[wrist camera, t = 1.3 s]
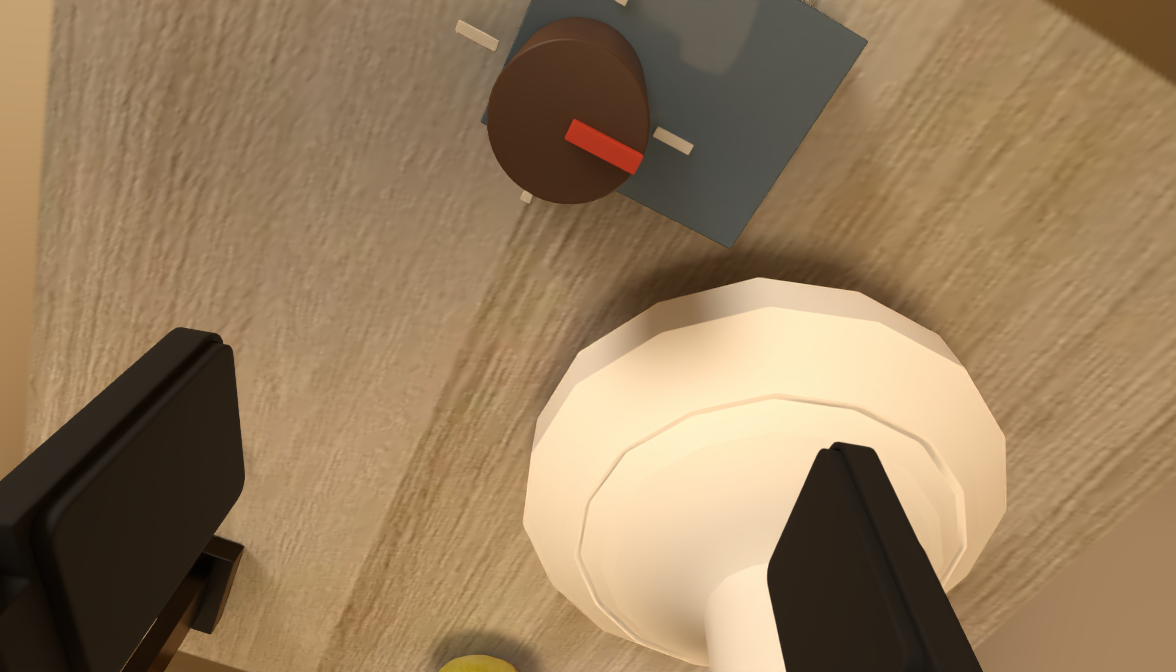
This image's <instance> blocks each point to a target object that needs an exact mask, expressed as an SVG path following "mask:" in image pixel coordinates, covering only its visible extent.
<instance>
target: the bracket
mask: <svg viewBox="0 0 1176 672" xmlns="http://www.w3.org/2000/svg"><path fill="white" fill-rule="evenodd" d="M243 548H244V546H242V545H239V544H236V543H233V542H230V541H227V540H225V539H222V538H219V537H216V536H212V538H211V539H210V541H209V542H208V543H207V545H206V546H205V548H204V549H203V551H202V552H201V554H200V555H199V557H198V558H197V560H196V561H195V562H194V564H193V565H192V567H191V568H190V570H189V571H188V573H187V574H186V576H185V577H184V579H183V580H182V581H181V583H180V584H179V586H178V587H177V589H176V590H175V592H174V593H173V595H172V596H171V598H170V599H169V600H168V602H167V603H166V605H165V606H164V608H163V609H162V611H161V612H160V614H159V615H158V617H157V620H156V621H155V623H154V624H153V626H152V627H151V629H150V630H149V632H148V633H147V635H146V636H145V638H144V639H143V641H142V642H141V644H140V645H139V647H138V648H137V650H136V651H135V652H134V654H133V656H132V657H131V658H130V660H129V661H128V663H127V664H126V666H125V667H124V669H123V670H122V672H164V671H165V669H166V667H167V666H168V664H169V662H170V661H171V659H172V657H173V656H174V654H175V653H176V651H177V650H178V648H179V646H180V645H181V643H182V641H183V640H184V638H185V637H186V635H187V633H188V632H189V630H190V629H195V630H198V631H201V632H204V633H207V634H212V632H213V631H214V629H215V627H216V626H217V624H218V622H219V620H220V619H221V616H222V613H223V610H224V606H225V603H226V600H227V597H228V594H229V591H230V588H231V585H232V582H233V579H234V576H235V573H236V570H237V567H238V563H239V560H240V557H241V554H242V551H243Z"/></svg>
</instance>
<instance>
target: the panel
mask: <svg viewBox="0 0 1176 672" xmlns="http://www.w3.org/2000/svg"><path fill="white" fill-rule="evenodd" d="M571 17H584V18H590V19H594V20H598V21H601V22H603V23H605V24H607V25H609V26H611V27H612V28H614V29H615V30H617V31H618V32H619V33H620V34H622V35H623V36H624V37H625V38H626V39H627V41H628V42H629V43H630V44H631V46H632V47H633V49H634V50H635V52H636V54H637V56H638V58H639V60H640V62H641V65H642V68H643V73H644V78H645V84H646V91H647V98H648V105H649V112H650V134H649V139H648V144H647V147H646V150H645V153H644V156H643V159H642V161H641V163H640V165H639V167H638V168H637V170H636V172H635V174H634V175H631V176H630V178H629V179H628V180H627V181H626V182H625V183H624V184H623V185H622V186H620V187H619V188H618V189H616V190H615V191H617V192H619V193H621V194H623V195H625V196H627V197H629V198H631V199H633V200H635V201H637V202H639V203H641V204H642V205H644V206H646V207H648V208H650V209H652V210H654V211H656V212H658V213H660V214H662V215H664V216H666V217H668V218H670V219H672V220H674V221H676V222H678V223H680V224H682V225H684V226H686V227H688V228H690V229H692V230H694V231H696V232H698V233H699V234H701V235H703V236H705V237H707V238H709V239H711V240H713V241H715V242H717V243H719V244H721V245H723V246H725V247H727V248H729V249H730V248H731V247H732V246H733V244H734V243H735V241H736V240H737V238H738V237H739V235H740V234H741V232H742V231H743V229H744V228H745V226H746V225H747V223H748V222H749V220H750V219H751V217H752V216H753V214H754V213H755V211H756V210H757V208H758V207H759V205H760V204H761V202H762V201H763V199H764V198H765V196H766V195H767V193H768V192H769V190H770V189H771V187H772V186H773V184H774V183H775V181H776V180H777V178H778V177H779V175H780V174H781V172H782V171H783V169H784V168H785V166H786V165H787V163H788V162H789V160H790V159H791V157H792V156H793V154H794V153H795V151H796V150H797V148H798V147H799V145H800V144H801V142H802V141H803V139H804V138H805V136H806V135H807V133H808V132H809V130H810V129H811V127H812V126H813V124H814V123H815V121H816V120H817V118H818V117H819V115H820V114H821V112H822V111H823V109H824V108H825V106H826V105H827V103H828V102H829V100H830V99H831V97H832V96H833V94H834V93H835V91H836V89H837V88H838V86H839V85H840V83H841V82H842V80H843V79H844V77H845V76H846V74H847V73H848V71H849V70H850V68H851V67H852V65H853V64H854V62H855V61H856V59H857V58H858V56H859V55H860V53H861V52H862V50H863V49H864V47H865V46H866V44H867V43H868V41H867V40H866V39H864V38H863V37H861V36H859V35H858V34H856V33H854V32H853V31H851V30H849V29H848V28H846V27H844V26H843V25H841V24H839V23H838V22H836V21H834V20H833V19H831V18H829V17H828V16H826V15H824V14H823V13H821V12H819V11H818V10H816V9H814V8H813V7H811V6H809V5H808V4H806V3H805V2H803V1H801V0H531V2H530V5H529V7H528V9H527V12H526V14H525V16H524V19H523V21H522V24H521V26H520V28H519V31H518V33H517V36H516V38H515V40H514V43H513V45H512V48H511V50H510V52H509V55H508V57H507V59H506V62H505V64H504V67H505V66H506V65H507V64H508V63H509V62H510V61H511V59H512V58H513V57H514V56H515V55H516V54H517V52H518V51H519V50H520V49H521V48H522V47H523V45H524V44H525V43H526V42H527V41H528V40H529V39H530V38H531V36H532V35H533V34H535V33H536V32H537V31H538V30H539V29H541V28H543V27H544V26H546V25H547V24H550V23H552V22H554V21H557V20H560V19H564V18H571ZM455 31H456V32H458V33H459V34H461V35H463V36H465V37H467V38H469V39H471V40H473V41H474V42H476V43H478V44H480V45H482V46H484V47H486V48H488V49H490V50H491V51H493V52H496V50H497V47H498V45H499V42H500V41H499V40H497V39H495V38H493V37H491V36H489V35H487V34H486V33H484V32H482V31H480V30H478V29H476V28H474V27H473V26H471V25H469V24H467V23H465V22H463V21H461V20H459V21H458V23H457V26H456V29H455ZM504 67H503V69H504ZM503 69H502V70H503ZM501 72H502V71H501ZM488 103H489V102H488ZM487 108H488V105H487V107H486V110H485V112H484V114H483V117H482V119H481V122H482V123H483V124H485V125H487ZM532 197H533V195H532V194H530V193H529V192H527V191H525V190H524V192H523V194H522V196H521V198H520V200H522V201H524V202H526V203H528V204H529V203H530V201H531V199H532Z"/></svg>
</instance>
